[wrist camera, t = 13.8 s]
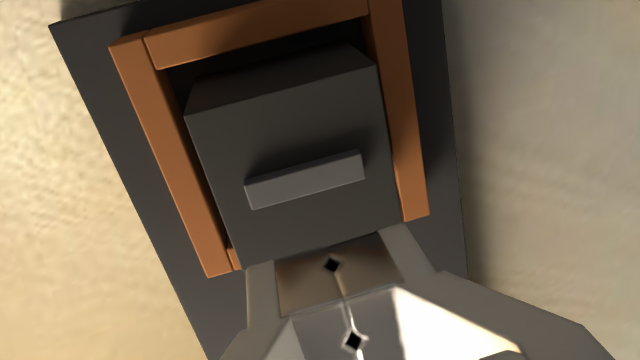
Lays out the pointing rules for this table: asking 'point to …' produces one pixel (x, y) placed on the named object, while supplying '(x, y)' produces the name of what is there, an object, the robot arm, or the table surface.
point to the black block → (295, 150)
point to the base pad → (236, 50)
